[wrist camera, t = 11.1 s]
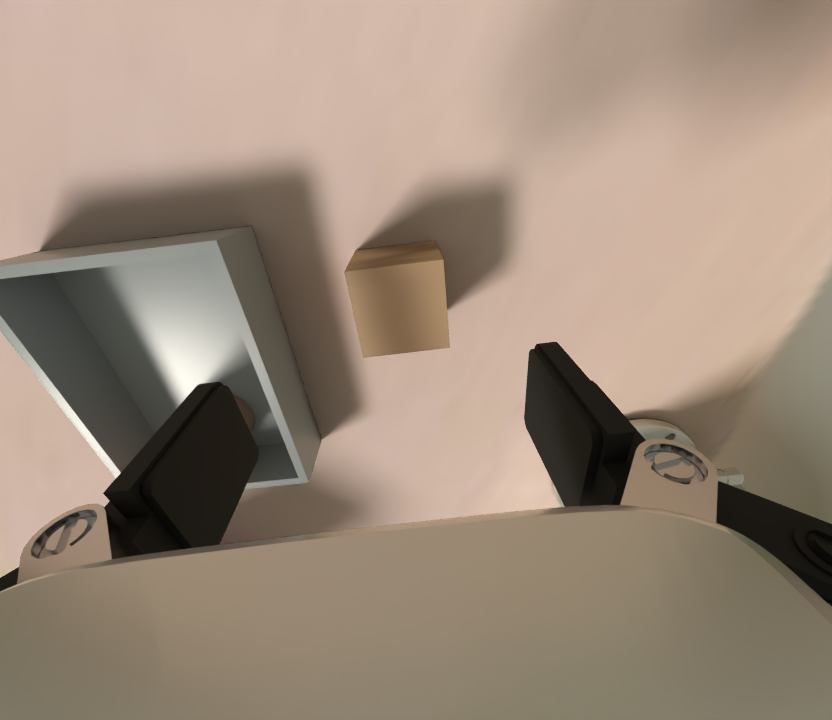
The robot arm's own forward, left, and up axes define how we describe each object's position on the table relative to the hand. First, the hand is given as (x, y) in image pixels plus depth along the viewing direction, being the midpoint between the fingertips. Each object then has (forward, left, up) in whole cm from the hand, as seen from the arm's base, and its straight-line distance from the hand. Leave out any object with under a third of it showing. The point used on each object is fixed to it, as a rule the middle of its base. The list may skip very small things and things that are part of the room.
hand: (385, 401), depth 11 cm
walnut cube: (0, 0, -14) cm, 14 cm away
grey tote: (+15, +4, -13) cm, 20 cm away
